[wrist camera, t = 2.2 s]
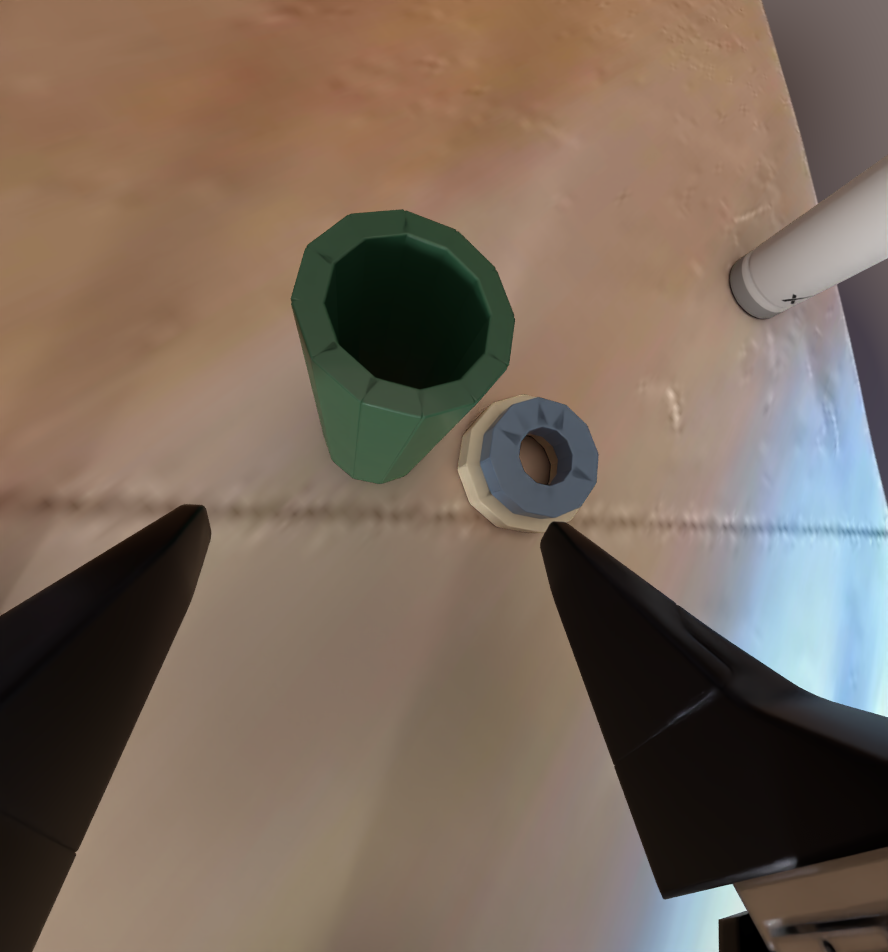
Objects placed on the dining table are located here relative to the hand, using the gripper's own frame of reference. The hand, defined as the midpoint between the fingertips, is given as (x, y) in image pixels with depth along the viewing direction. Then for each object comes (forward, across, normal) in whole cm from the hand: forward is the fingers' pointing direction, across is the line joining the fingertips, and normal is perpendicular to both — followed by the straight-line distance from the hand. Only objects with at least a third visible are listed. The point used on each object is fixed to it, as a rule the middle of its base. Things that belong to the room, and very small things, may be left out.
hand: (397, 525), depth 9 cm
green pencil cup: (+12, 0, +4) cm, 13 cm away
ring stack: (+12, -10, +5) cm, 16 cm away
